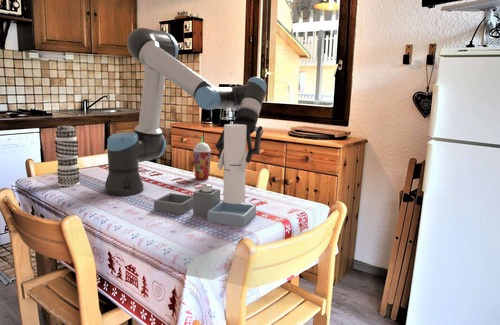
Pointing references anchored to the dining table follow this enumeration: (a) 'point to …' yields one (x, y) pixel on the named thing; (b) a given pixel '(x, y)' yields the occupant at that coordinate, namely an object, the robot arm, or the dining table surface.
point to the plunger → (207, 188)
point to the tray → (231, 214)
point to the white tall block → (234, 163)
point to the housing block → (205, 201)
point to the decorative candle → (67, 156)
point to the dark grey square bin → (174, 203)
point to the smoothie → (202, 160)
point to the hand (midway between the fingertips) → (231, 168)
